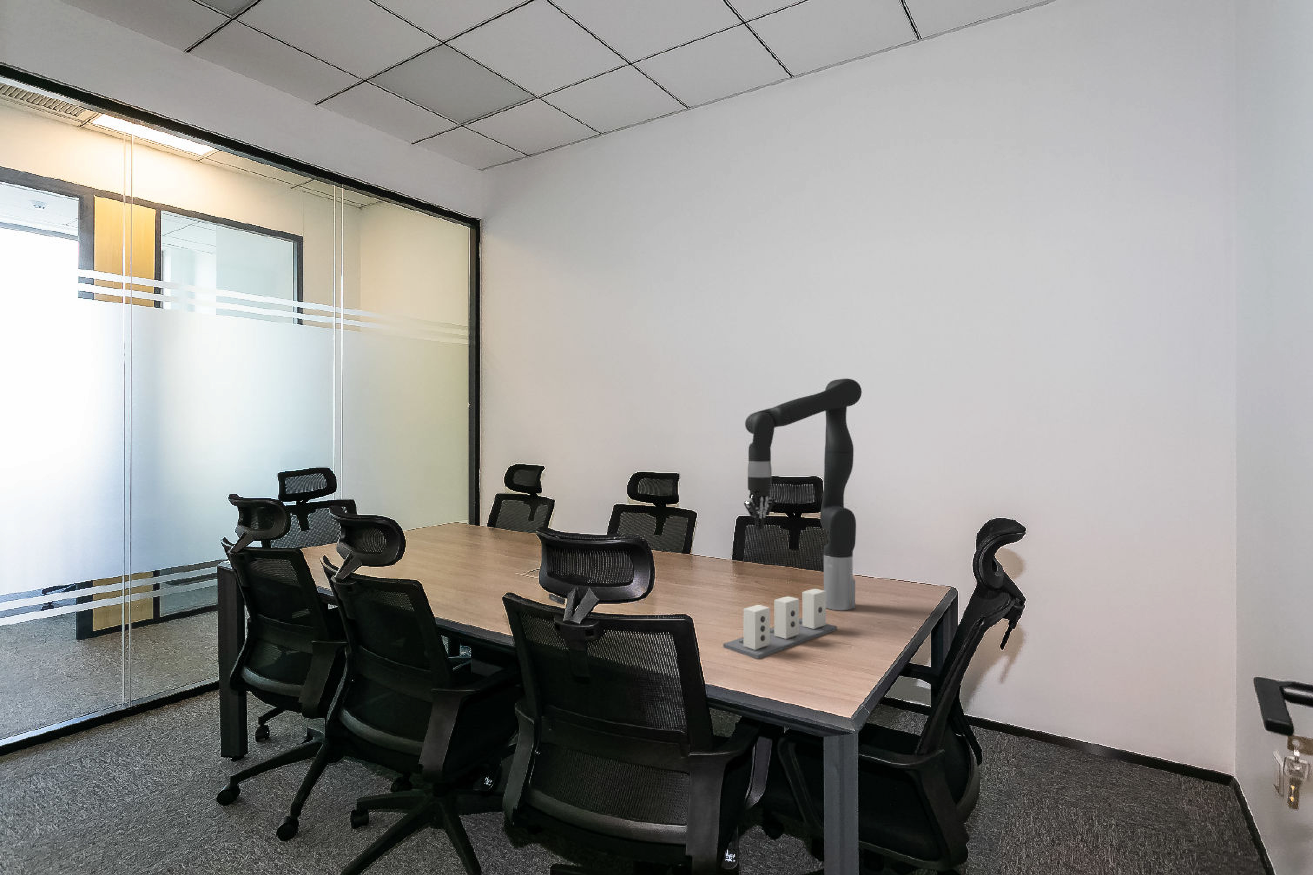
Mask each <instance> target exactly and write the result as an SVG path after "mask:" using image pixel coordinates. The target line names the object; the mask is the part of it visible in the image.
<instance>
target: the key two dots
mask: <svg viewBox="0 0 1313 875" xmlns="http://www.w3.org/2000/svg"><path fill="white" fill-rule="evenodd" d="M773 602H774V603H773V604H774V605H773V606H774V608H773V610H774V616H773V617H774V618H773V619H774V626H773V627H774V635H775V636H778V637H781V638H784V639H787V638H790V637H793V636H796V635H798V634H799V619H800V598H797V597H793V596H788V595H787V596H784V597H783V596H782V597H780V598H775V599H774V600H773Z"/></svg>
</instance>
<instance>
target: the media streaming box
mask: <svg viewBox="0 0 1313 875" xmlns="http://www.w3.org/2000/svg"><path fill="white" fill-rule="evenodd" d="M548 599H550V600H551V601H553V602H555V603H557V604H560V605H563V606H565V605H564V603H565V599H564V598H561V597H558V596H555V595H553V594H549V593H548Z"/></svg>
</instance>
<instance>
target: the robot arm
mask: <svg viewBox="0 0 1313 875" xmlns="http://www.w3.org/2000/svg"><path fill="white" fill-rule="evenodd" d="M862 391H863V390H862V387H861V385H860V383H858V381H857V380H854V379H853V378H839V379H834V380H833V379H832V380H831V381H829V382H828V383H827V385H826V387H825V390H824V391H821V392H817V393H814V394H810V395H806V396H802V397H798V398H795V399H791V400H789V401H786V402H783V403H780V404H778V405H776V406H773V407H770V408H766V409H762V410H759V411H755V412H753V413H751V414H749V415H748V416H747V418H746V419H745V422H744V425H745V429H746V430H747V432H748V433H750V434H752V436H753V438H752V442H751V443H750V444H749V445H748V450H747V451H748V458H747V459H748V464H747V490H748V491H749V495H748V500H746V501H744V502H743V505H744V506H745V508H746V511H747V512H748V514H749V515H750V517H753V518H754V528H755V530H757V531H763V530H764V529H765V518H766V517H767V516H769V515H770V514H771V511H772V509H773V506H774V504H775V503H776V500H775V499H774V498H772V497H771V494H770V492H771V490H772V489H773V488H772V487H773V486H772V482H773V480H772V476H773V475H772V474H773V473H772V462H771V460H772V456H771V455H772V452H771V448H772V444H773V438H774V433H775V428H779V427H786V426H789V425H792V424H794V423H797V422H799V421H802V420H804V419H808V418H809V417H811V416H812V417H813V416H815V415H817V414H820V413H823V412H825V440H824V441H825V442H824V443H825V445H824V459H823V460H824V464H823V465H824V468H823V469H824V470H823V473H824V475H823V492H822V493H823V494H822V501H821V507H820V512H819V513H820V514H819V521H820V525H821V527H822V528H823V530H825V532H827V533H828V534H829V535H828V543H827V544H825V545H824V547H823V591H826V609H829V610H833V611H834V610H835V611H849V610H852V609H856V579H855V578H854V577H853V569H854V565H853V564H854V560H853V553H854V549H855V546H856V534H857V521H856V519H857V518H856V517H855V514H854V512H853V511H852V510H851V509H849V508H846V507H845V506H844V505H845V503H844V498H845V497H844V495H845V490H846V486H847V483H848V481H849V479H850V477H851V474H852V471H853V466H854V451H855V450H854V449H855V448H854V443H853V439H852V437H851V434H850V431H849V428H848V424H847V412H848V411H847V410H848V408H847V407H852V406H854V405H855V404H857V403H858V402H859V401H860V399H861V397H862Z"/></svg>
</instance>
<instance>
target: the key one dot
mask: <svg viewBox="0 0 1313 875" xmlns="http://www.w3.org/2000/svg"><path fill="white" fill-rule="evenodd" d="M801 594H802V595H801V598H802V600H801V601H802V603H801V604H802V605H801V606H802V607H801V608H802V609H801V610H802V617H801V618H802V626H805V627H808V628H812V629H815V628H818V627H821V626H824V625H826V623H827V608H826V591H824V589H823V590H822V589H818V588H811V589H808V590H805V591H802V593H801Z"/></svg>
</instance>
